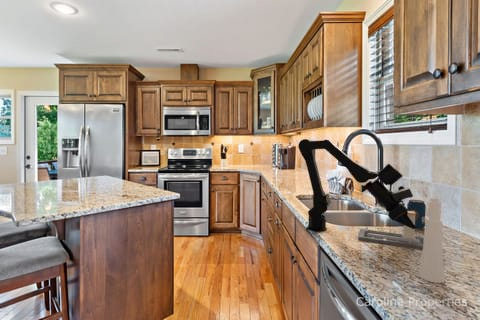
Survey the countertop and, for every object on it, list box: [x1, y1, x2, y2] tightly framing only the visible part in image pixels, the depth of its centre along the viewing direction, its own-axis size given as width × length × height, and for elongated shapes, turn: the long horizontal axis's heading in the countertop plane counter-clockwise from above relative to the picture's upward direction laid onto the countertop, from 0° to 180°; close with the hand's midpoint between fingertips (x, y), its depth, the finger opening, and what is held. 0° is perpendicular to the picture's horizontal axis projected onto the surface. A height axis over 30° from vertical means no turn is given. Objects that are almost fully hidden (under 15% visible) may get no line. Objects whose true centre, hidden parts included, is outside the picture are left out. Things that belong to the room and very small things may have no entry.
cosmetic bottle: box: [417, 196, 446, 284], centre depth 74 cm, size 6×6×22 cm
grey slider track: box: [358, 227, 424, 250], centre depth 104 cm, size 24×12×3 cm, turn 63°
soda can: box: [406, 199, 427, 230], centre depth 121 cm, size 7×7×12 cm
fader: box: [401, 211, 416, 240], centre depth 102 cm, size 4×4×10 cm
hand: (413, 225), depth 101 cm, fingers open, 8 cm apart
